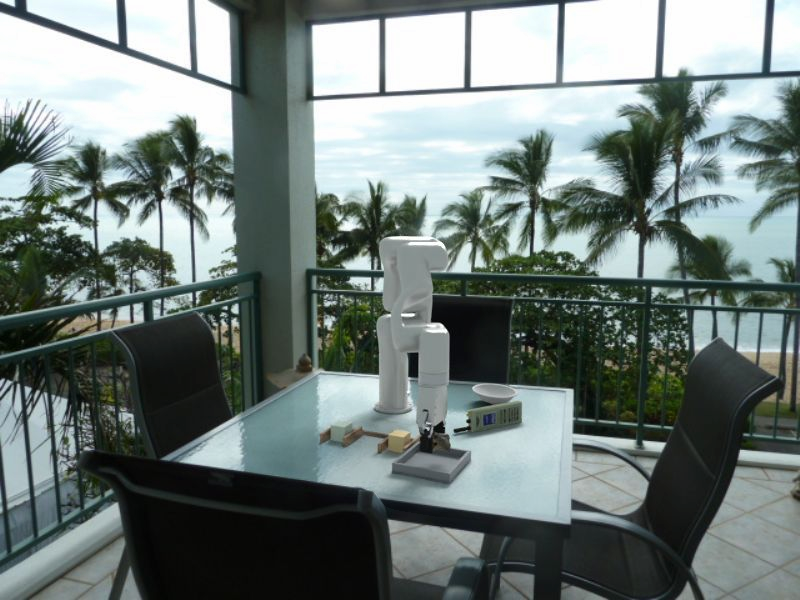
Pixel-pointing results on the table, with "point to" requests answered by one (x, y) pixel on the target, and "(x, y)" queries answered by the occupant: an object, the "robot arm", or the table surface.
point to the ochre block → (398, 440)
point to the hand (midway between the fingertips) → (432, 446)
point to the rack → (359, 432)
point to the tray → (432, 463)
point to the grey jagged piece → (441, 441)
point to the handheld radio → (492, 416)
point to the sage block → (340, 430)
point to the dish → (494, 393)
